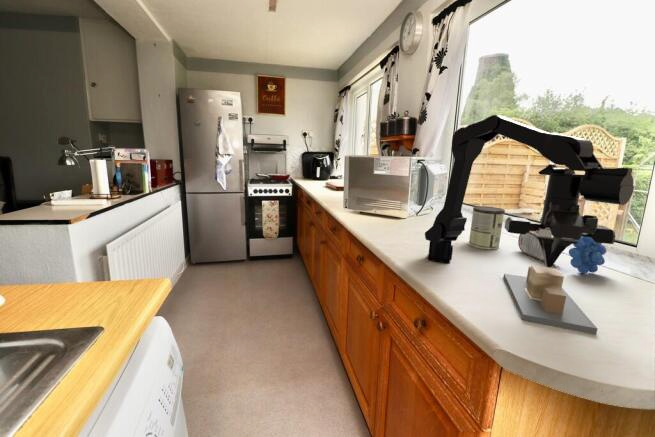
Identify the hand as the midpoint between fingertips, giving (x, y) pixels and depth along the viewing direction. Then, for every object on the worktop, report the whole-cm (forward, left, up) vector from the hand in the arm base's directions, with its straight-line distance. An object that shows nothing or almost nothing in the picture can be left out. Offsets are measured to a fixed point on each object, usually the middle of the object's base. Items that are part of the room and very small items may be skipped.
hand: (548, 266), depth 69 cm
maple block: (0, 0, -7) cm, 7 cm away
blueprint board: (0, 0, -8) cm, 8 cm away
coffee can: (-8, +45, -8) cm, 47 cm away
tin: (+7, +38, -9) cm, 40 cm away
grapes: (+17, +26, -8) cm, 32 cm away
